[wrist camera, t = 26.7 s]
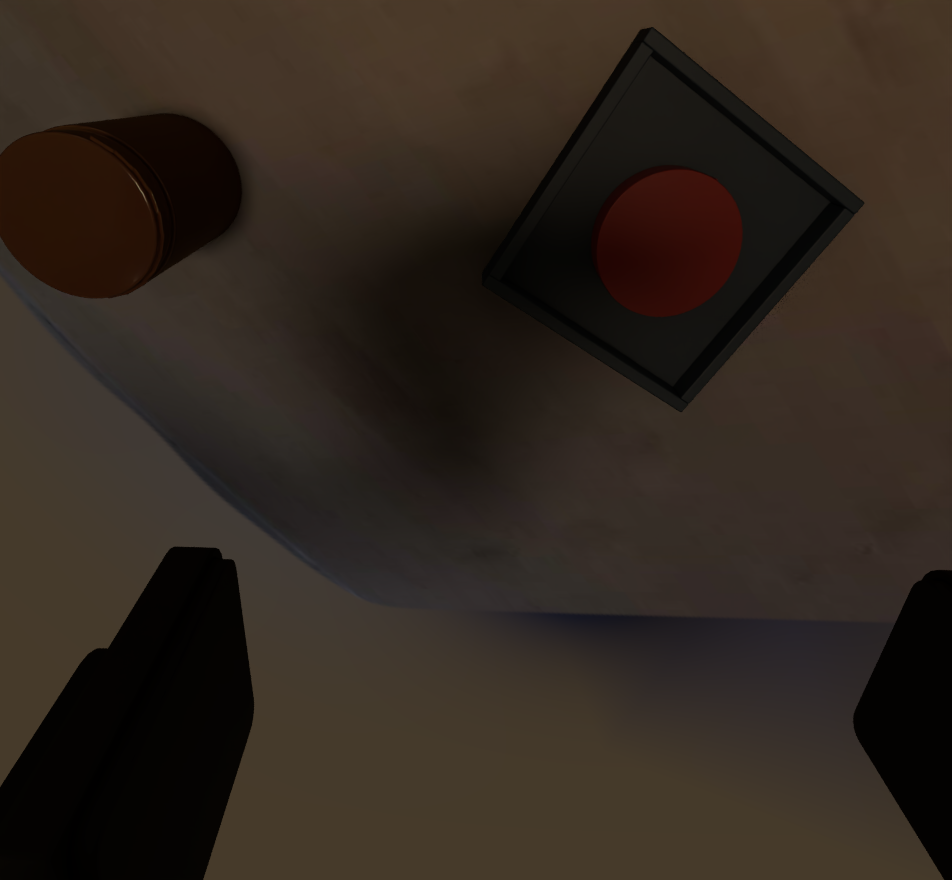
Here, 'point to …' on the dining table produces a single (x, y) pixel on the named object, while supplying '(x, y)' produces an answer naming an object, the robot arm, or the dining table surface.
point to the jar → (114, 200)
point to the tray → (655, 144)
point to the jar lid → (666, 240)
